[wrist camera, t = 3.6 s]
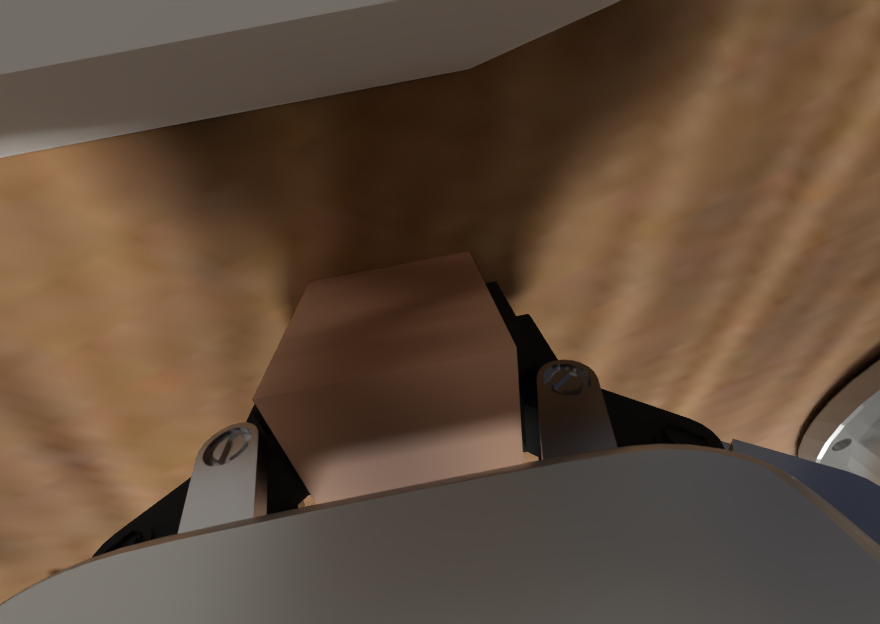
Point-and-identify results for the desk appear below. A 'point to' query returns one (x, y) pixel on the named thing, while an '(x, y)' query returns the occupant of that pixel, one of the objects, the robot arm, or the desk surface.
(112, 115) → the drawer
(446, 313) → the block
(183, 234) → the desk surface
